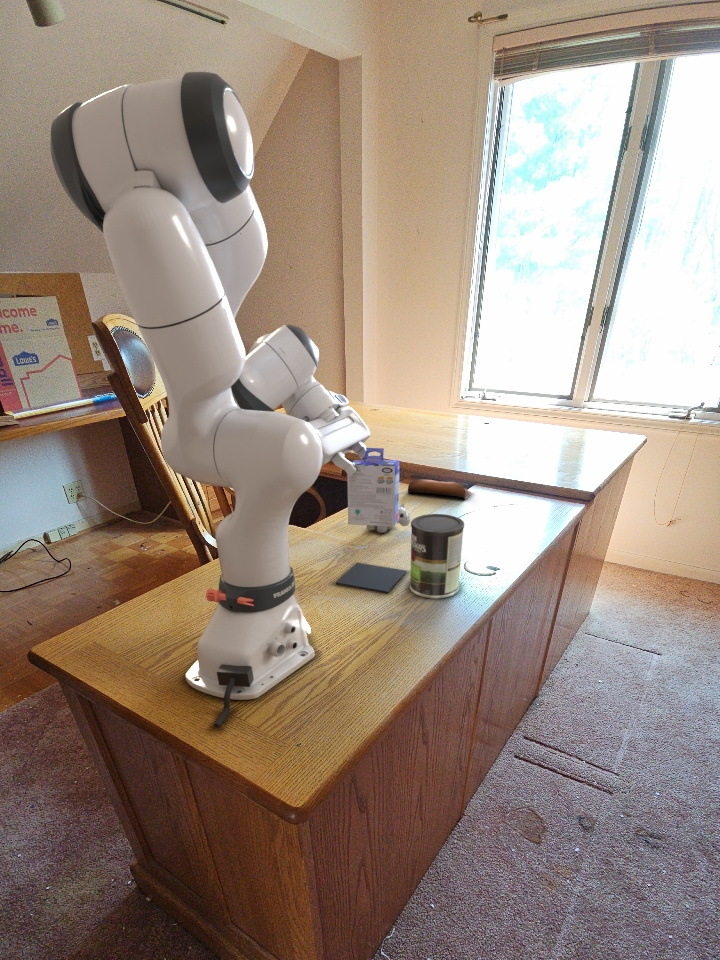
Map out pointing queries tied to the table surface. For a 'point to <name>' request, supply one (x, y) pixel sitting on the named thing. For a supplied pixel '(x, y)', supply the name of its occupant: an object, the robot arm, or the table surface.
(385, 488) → the ink cartridge box
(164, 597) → the table surface
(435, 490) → the sunglasses case
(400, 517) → the chubby cartoon animal
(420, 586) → the coffee can
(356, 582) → the coaster
